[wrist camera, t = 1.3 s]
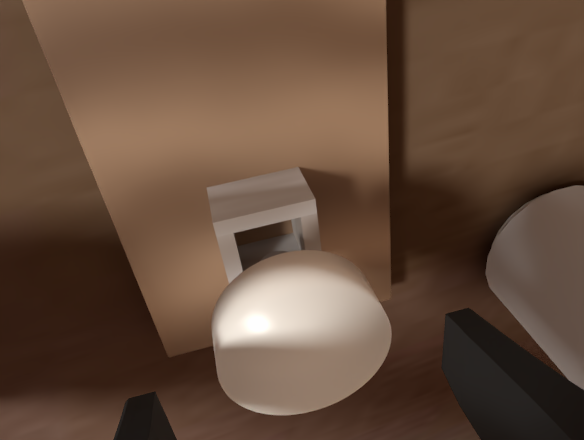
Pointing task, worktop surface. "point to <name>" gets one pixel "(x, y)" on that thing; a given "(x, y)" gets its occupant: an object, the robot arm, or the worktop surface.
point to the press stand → (227, 137)
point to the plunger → (298, 333)
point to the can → (545, 275)
